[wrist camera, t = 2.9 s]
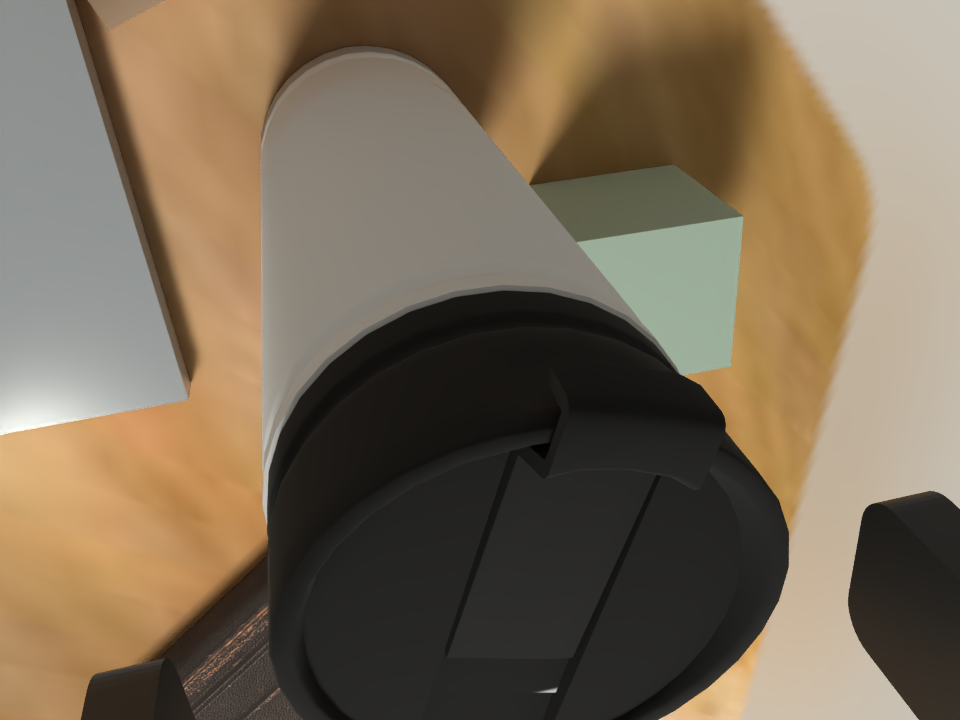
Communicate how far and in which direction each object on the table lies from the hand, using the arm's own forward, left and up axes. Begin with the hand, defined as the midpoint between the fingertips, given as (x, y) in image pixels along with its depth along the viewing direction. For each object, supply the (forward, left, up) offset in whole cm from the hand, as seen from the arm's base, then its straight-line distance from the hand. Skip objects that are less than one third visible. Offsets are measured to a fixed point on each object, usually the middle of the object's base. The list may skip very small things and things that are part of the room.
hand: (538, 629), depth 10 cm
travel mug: (0, 0, -20) cm, 20 cm away
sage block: (+4, +7, -20) cm, 22 cm away
